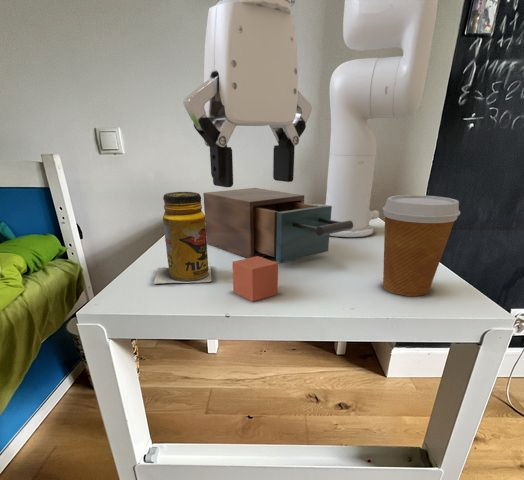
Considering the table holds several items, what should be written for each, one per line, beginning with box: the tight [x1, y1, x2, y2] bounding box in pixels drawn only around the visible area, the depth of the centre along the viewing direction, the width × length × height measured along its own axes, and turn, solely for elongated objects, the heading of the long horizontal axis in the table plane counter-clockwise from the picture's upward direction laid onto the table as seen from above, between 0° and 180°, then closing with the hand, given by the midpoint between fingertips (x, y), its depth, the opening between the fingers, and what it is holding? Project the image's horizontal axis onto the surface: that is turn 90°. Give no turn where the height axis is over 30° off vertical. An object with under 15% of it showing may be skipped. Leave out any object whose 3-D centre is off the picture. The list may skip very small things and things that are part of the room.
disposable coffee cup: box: [382, 194, 461, 297], centre depth 53 cm, size 10×10×12 cm
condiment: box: [152, 191, 212, 285], centre depth 57 cm, size 7×8×12 cm
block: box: [232, 256, 279, 302], centre depth 53 cm, size 4×4×4 cm
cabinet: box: [202, 187, 305, 259], centre depth 74 cm, size 15×13×10 cm
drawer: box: [253, 201, 353, 264], centre depth 67 cm, size 20×11×8 cm, turn 39°
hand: (254, 183), depth 47 cm, fingers open, 8 cm apart
